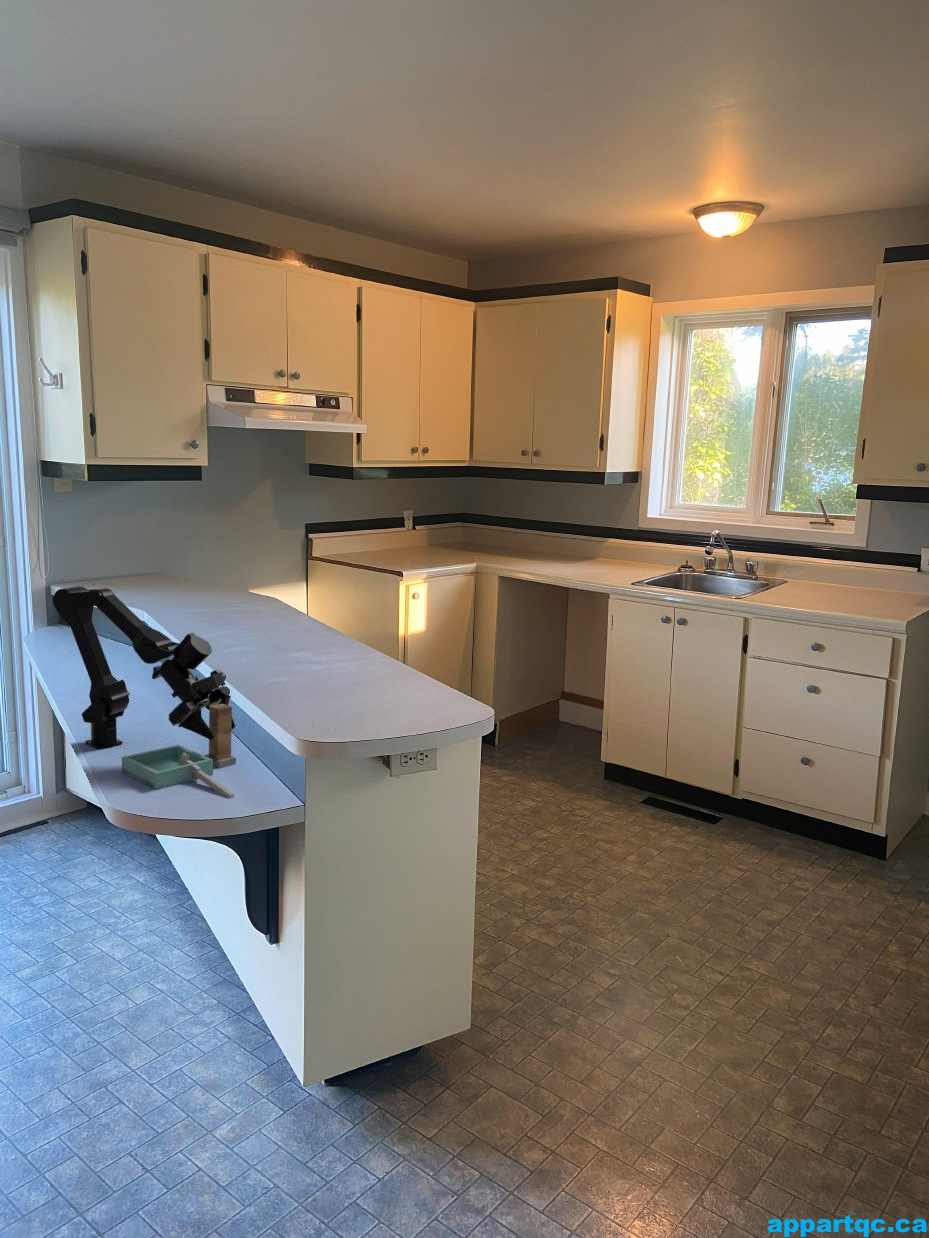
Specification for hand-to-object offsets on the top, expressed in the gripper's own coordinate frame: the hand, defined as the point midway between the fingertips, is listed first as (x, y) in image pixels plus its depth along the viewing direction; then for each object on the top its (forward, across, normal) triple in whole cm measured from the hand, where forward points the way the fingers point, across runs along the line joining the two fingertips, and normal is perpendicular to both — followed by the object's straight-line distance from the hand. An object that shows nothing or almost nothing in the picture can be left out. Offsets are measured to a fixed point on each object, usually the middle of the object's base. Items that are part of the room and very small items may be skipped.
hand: (223, 733), depth 205 cm
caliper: (+9, -14, +2) cm, 17 cm away
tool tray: (0, -12, +10) cm, 15 cm away
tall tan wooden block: (+4, 0, +6) cm, 7 cm away
